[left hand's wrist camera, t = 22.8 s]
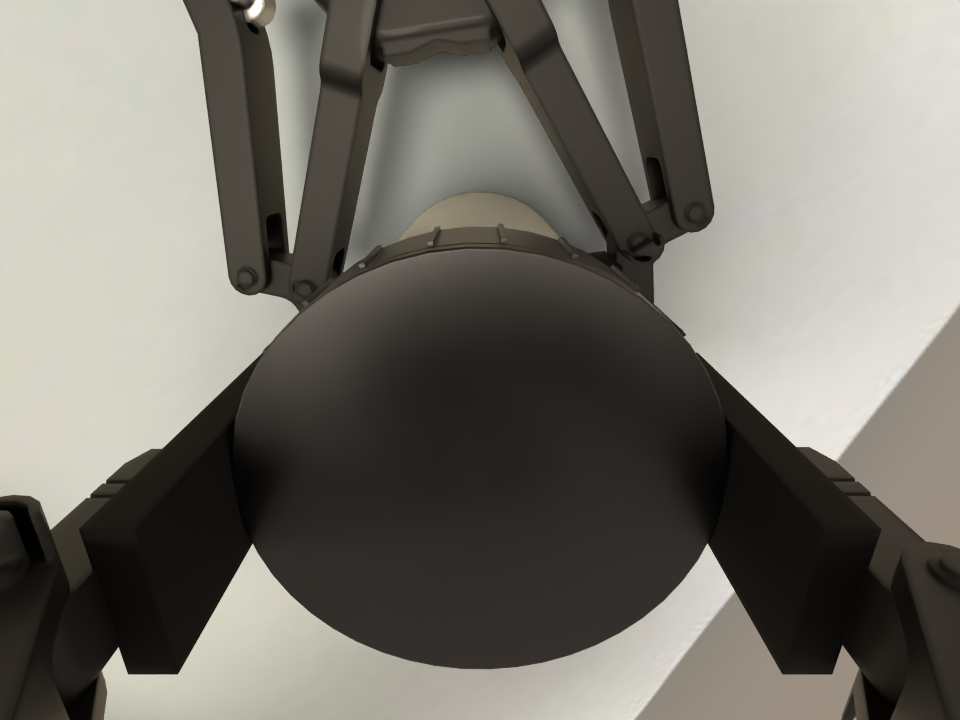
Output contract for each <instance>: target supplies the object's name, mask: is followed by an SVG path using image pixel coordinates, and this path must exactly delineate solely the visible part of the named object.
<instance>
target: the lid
mask: <svg viewBox="0 0 960 720" xmlns="http://www.w3.org/2000/svg"><path fill="white" fill-rule="evenodd" d="M639 290H640V288H639V287H638V286H637V285H636V284H635V283H634V282H633V281H631V280H630V279H629V278H628V277H627V276H626V275H625V274H624V273H622V272H621V271H620V270H619V269H618V268H617V267H616V266H614V265H612V266H611V268H610V267H608V266H607V265H605V264H604V263H602V262H601V261H599V260H597V259H596V258H594V257H593V256H591V255H590V254H588V253H586V252H584V251H582V250H580V249H577V248H575V247H573V246H571V245H570V244H569V243H568V242H567V241H566V240H565V239H564V238H562V237H559V238H558V240H556V239H553V238H550V237H546V236H543V235H540V234H536V233H533V232H529V231H522V230H516V229H509V228H504V225H503V224H500V223H498V227H471V226H469V227H460V228H451V229H443V230H441V228H440V226H438V227H435V228H434V230H433V231H432V232H428V233H425V234H421V235H417V236H413V237H409V238H406V239H404V240H401V241H399V242H396V243H394V244H392V245H389V246H387V247H384V248H382V246H381V245H379V246H377V247H376V248H375V249H374V250H373V251H372V252H371V253H370V254H368V255H367V256H366V257H365V258H364V259H362V260H361V261H359V262H357V263H356V264H354V265H353V266H352V267H350V268H349V269H348V270H347V271H345V272H344V273H343V274H341V275H340V276H339V277H338V278H336V279H335V280H333V279H332V278H330V279H329V280H327V281H326V282H325V283H324V284H323V285H322V286H321V287H320V288H318V289H317V290H316V291H315V292H314V293H313V294H312V295H311V296H309V297H308V298H307V299H306V300H305V301H304V302H303V303H302V305H303V306H304V307H305V308H303V309H302V310H301V311H300V312H299V313H298V314H297V315H296V316H295V317H294V318H293V319H292V320H291V321H290V322H289V324H288V325H287V326H286V327H285V328H284V329H283V330H282V331H281V332H280V333H279V334H278V335H277V336H276V337H275V339H274V340H273V342H271V343H270V344H269V345H268V346H267V347H266V348H265V349H264V351H263V356H262V357H261V359H260V360H259V362H258V363H257V365H256V367H255V369H254V371H253V373H252V375H251V377H250V379H249V382H248V384H247V386H246V388H245V390H244V392H243V396H242V399H241V402H240V406H239V409H238V412H237V416H236V419H235V426H234V434H233V441H232V476H233V481H234V486H235V491H236V497H237V502H238V506H239V510H240V513H241V516H242V519H243V522H244V525H245V528H246V530H247V532H248V534H249V536H250V538H251V540H252V542H253V544H254V546H255V548H256V550H257V552H258V554H259V555H260V557H261V558H262V560H263V561H264V563H265V564H266V566H267V567H268V569H269V570H270V571H271V573H272V574H273V576H274V577H275V578H276V579H277V580H278V581H279V582H280V584H281V585H282V586H283V587H284V588H285V589H286V590H287V591H288V593H289V594H290V595H291V596H292V597H293V598H295V599H296V600H297V601H298V602H299V603H300V604H301V605H302V606H304V607H305V608H306V609H307V610H308V611H309V612H310V613H312V614H313V615H315V616H316V617H317V618H319V619H320V620H322V621H323V622H325V623H326V624H327V625H329V626H330V627H332V628H333V629H335V630H337V631H339V632H340V633H342V634H344V635H346V636H348V637H349V638H351V639H353V640H355V641H357V642H359V643H361V644H364V645H366V646H369V647H371V648H373V649H376V650H378V651H380V652H383V653H386V654H389V655H393V656H396V657H399V658H402V659H406V660H409V661H414V662H419V663H424V664H429V665H434V666H442V667H451V668H460V669H498V668H510V667H520V666H525V665H531V664H537V663H542V662H547V661H550V660H554V659H557V658H561V657H565V656H568V655H571V654H574V653H577V652H579V651H582V650H584V649H587V648H590V647H592V646H595V645H597V644H599V643H601V642H603V641H605V640H607V639H609V638H611V637H613V636H615V635H617V634H619V633H620V632H622V631H623V630H625V629H626V628H628V627H630V626H631V625H633V624H634V623H636V622H637V621H639V620H640V619H642V618H643V617H644V616H646V615H647V614H648V613H649V612H650V611H652V610H653V609H654V608H655V607H657V606H658V605H659V604H660V603H661V602H663V601H664V600H665V599H666V598H667V597H668V596H669V594H670V593H671V592H672V591H673V590H674V589H675V588H676V587H677V586H678V585H679V584H680V583H681V582H682V581H683V579H684V578H685V577H686V575H687V574H688V573H689V571H690V570H691V569H692V567H693V566H694V565H695V563H696V562H697V561H698V559H699V557H700V555H701V554H702V552H703V550H704V548H705V546H706V545H707V543H708V541H709V539H710V537H711V535H712V533H713V530H714V527H715V525H716V522H717V520H718V517H719V514H720V512H721V508H722V503H723V498H724V494H725V489H726V484H727V473H728V459H729V455H728V443H727V432H726V425H725V421H724V417H723V413H722V409H721V405H720V401H719V398H718V396H717V393H716V391H715V389H714V386H713V384H712V382H711V379H710V377H709V375H708V372H707V371H706V369H705V367H704V366H703V364H702V363H701V361H700V359H699V358H698V356H697V355H696V353H695V352H694V350H693V348H692V347H691V345H690V344H689V343H688V342H687V340H686V339H685V338H684V336H686V334H685V333H684V331H683V330H682V329H680V328H679V327H678V326H677V325H676V324H675V323H674V322H673V321H672V320H671V319H670V318H668V317H667V316H666V315H665V314H664V313H663V312H662V311H661V310H660V309H659V308H658V307H656V306H655V305H652V304H651V303H650V302H649V301H648V300H647V299H646V298H644V297H643V296H642V295H641V294H640V293H639V292H638V291H639Z"/></svg>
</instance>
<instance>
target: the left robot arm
mask: <svg viewBox="0 0 960 720" xmlns="http://www.w3.org/2000/svg"><path fill="white" fill-rule="evenodd" d="M696 355H697V356H698V358H699V359H700V361H701V363H702V364H703V366H704V367H705V369H706V371H707V372H708V375H709V377H710V379H711V382H712V384H713V386H714V389H715V391H716V393H717V396H718V398H719V401H720V405H721V409H722V413H723V417H724V421H725V425H726V432H727V443H728V455H729V459H728V473H727V484H726V489H725V494H724V498H723V503H722V508H721V512H720V514H719V517H718V520H717V522H716V525H715V527H714V530H713V533H712V535H711V537H710V539H709V541H708V545H709V546H710V548H711V550H712V552H713V553H714V555H715V557H716V559H717V560H718V562H719V564H720V566H721V567H722V569H723V571H724V573H725V574H726V576H727V578H728V580H729V581H730V583H731V585H732V587H733V588H734V590H735V592H736V594H737V595H738V597H739V599H740V601H741V602H742V604H743V606H744V608H745V609H746V611H747V613H748V615H749V616H750V618H751V620H752V622H753V624H754V625H755V627H756V629H757V630H758V632H759V634H760V636H761V638H762V639H763V641H764V643H765V644H766V646H767V648H768V650H769V652H770V653H771V655H772V657H773V658H774V660H775V662H776V664H777V665H778V667H779V669H780V671H781V673H782V674H832V673H833V670H834V668H835V665H836V662H837V659H838V656H839V653H840V650H841V647H842V645H843V646H844V647H845V649H846V650H847V652H848V653H849V654H850V656H851V657H852V658H853V660H854V661H855V663H856V664H857V665H858V667H859V671H858V673H857V676H856V679H855V682H854V684H853V687H852V690H851V692H850V695H849V698H848V701H847V704H846V706H845V709H844V712H843V714H842V719H841V720H853V718H855V717H856V718H857V720H960V549H959V548H956V547H953V546H950V545H945V544H938V543H932V542H926V541H924V540H923V539H922V538H921V537H920V536H919V535H918V534H917V533H915V532H914V531H913V530H912V529H911V528H910V527H909V526H908V525H906V524H905V523H904V522H903V521H902V520H901V519H900V518H899V517H897V516H896V515H895V514H894V513H893V512H892V511H891V510H890V509H888V508H887V507H886V506H885V505H884V504H883V503H882V502H881V501H880V500H878V499H877V498H876V497H875V496H871V494H870V492H869V491H868V490H867V489H866V488H865V487H864V486H863V485H862V484H860V483H859V482H855V478H854V477H853V476H851V475H850V474H849V473H848V472H847V471H846V470H845V469H844V468H842V467H841V466H840V465H839V464H838V463H837V462H836V461H834V460H832V459H830V458H828V457H826V456H825V455H823V454H821V453H819V452H817V451H815V450H813V449H812V448H810V447H795V446H794V445H793V444H792V443H791V442H790V441H789V440H788V439H787V438H786V437H785V436H784V435H783V434H782V433H781V432H780V431H779V430H778V429H777V428H776V427H775V426H774V425H772V424H771V423H770V422H769V421H768V420H767V419H766V418H765V417H764V416H763V415H762V414H761V413H760V412H759V411H758V410H757V409H756V408H755V407H754V406H753V405H752V404H751V403H749V402H748V401H747V400H746V399H745V398H744V397H743V396H742V395H741V394H740V393H739V392H738V391H737V390H736V389H735V388H734V387H733V386H732V385H731V384H730V383H729V382H728V381H727V380H725V379H724V378H723V377H722V376H721V375H720V374H719V373H718V372H717V371H716V370H715V369H714V368H713V367H712V366H711V365H710V364H709V363H708V362H707V361H706V360H705V359H704V358H702V357H701V356H700V355H699V354H698V353H696ZM262 356H263V353H262V354H261V355H260V356H259V357H258V358H257V359H256V360H255V361H254V362H253V363H252V364H251V365H250V366H248V367H247V368H246V369H245V370H244V371H243V372H242V373H241V374H240V375H239V376H238V377H237V378H236V379H235V380H234V381H233V382H232V383H231V384H230V385H229V386H228V387H227V388H225V389H224V390H223V391H222V392H221V393H220V394H219V395H218V396H217V397H216V398H215V399H214V400H213V401H212V402H211V403H210V404H209V405H208V406H207V407H206V408H205V409H204V410H203V411H201V412H200V413H199V414H198V415H197V416H196V417H195V418H194V419H193V420H192V421H191V422H190V423H189V424H188V425H187V426H186V427H185V428H184V429H183V430H182V431H181V432H180V433H178V434H177V435H176V436H175V437H174V438H173V439H172V440H171V441H170V442H169V443H168V444H167V445H166V446H165V447H164V448H163V449H151V450H149V451H147V452H145V453H143V454H142V455H140V456H138V457H136V458H134V459H132V460H130V461H129V462H127V463H125V464H124V465H123V466H122V467H121V468H119V469H118V470H117V471H116V472H115V473H114V474H113V475H112V476H111V477H109V478H108V479H107V480H106V484H102V485H101V486H99V487H98V488H97V489H96V490H95V491H94V492H93V493H92V494H91V497H90V498H86V499H85V500H84V501H83V502H82V503H80V504H79V505H78V506H77V507H76V508H75V509H74V510H73V511H72V512H70V513H69V514H68V515H67V516H66V517H65V518H64V519H63V520H62V521H60V522H59V523H58V524H57V525H56V526H55V527H54V528H53V529H52V530H50V529H49V526H48V523H47V520H46V518H45V515H44V512H43V509H42V507H41V504H40V502H39V501H37V500H36V499H34V498H32V497H31V496H20V495H10V496H3V497H0V720H104V712H105V705H106V697H107V689H106V683H105V679H104V676H103V673H102V671H101V670H102V669H103V668H104V666H105V665H106V663H107V662H108V661H109V659H110V658H111V656H112V655H113V654H114V652H115V651H116V650H117V648H118V647H119V649H120V652H121V655H122V658H123V661H124V663H125V666H126V669H127V672H128V674H178V673H179V671H180V670H181V668H182V666H183V664H184V663H185V661H186V659H187V657H188V656H189V654H190V652H191V650H192V649H193V647H194V645H195V643H196V642H197V640H198V638H199V636H200V635H201V633H202V631H203V629H204V628H205V626H206V624H207V622H208V621H209V619H210V617H211V615H212V614H213V612H214V610H215V608H216V607H217V605H218V603H219V601H220V600H221V598H222V596H223V594H224V593H225V591H226V589H227V587H228V586H229V584H230V582H231V580H232V579H233V577H234V575H235V573H236V572H237V570H238V568H239V566H240V565H241V563H242V561H243V559H244V558H245V556H246V554H247V552H248V550H249V549H250V547H251V545H252V543H253V542H252V540H251V538H250V536H249V534H248V532H247V530H246V528H245V525H244V522H243V519H242V516H241V513H240V510H239V506H238V502H237V497H236V491H235V486H234V481H233V476H232V441H233V434H234V426H235V419H236V416H237V412H238V409H239V406H240V402H241V399H242V396H243V392H244V390H245V388H246V386H247V384H248V382H249V379H250V377H251V375H252V373H253V371H254V369H255V367H256V365H257V363H258V362H259V360H260V359H261V357H262Z"/></svg>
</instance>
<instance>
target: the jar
mask: <svg viewBox="0 0 960 720" xmlns="http://www.w3.org/2000/svg"><path fill="white" fill-rule="evenodd" d="M498 223H500V224H503V225H504V228H509V229H516V230H522V231H529V232H533V233H536V234H540V235H543V236H546V237H550V238H553V239H556V240H558V238H559V236H558V235H557V234H556V232H555V231H554V230H553V229H552V228H551V227H550V225H549V224H548V223H547V222H546V221H545V220H544V219H543V218H542V217H541V216H540V215H539V214H538V213H537V212H535V211H534V210H533V209H531V208H530V207H528V206H527V205H525V204H523V203H521V202H520V201H518V200H516V199H513V198H510V197H507V196H504V195H500V194H495V193H485V192H475V193H465V194H461V195H456V196H453V197H450V198H447V199H445V200H443V201H441V202H439V203H437V204H435V205H433V206H432V207H430V208H429V209H428V210H426V211H425V212H424V213H422V214H421V215H420V216H419V217H418V218H417V219H416V220H415V221H414V222H413V223H412V225H411V226H410V227H409V228H408V229H407V230H406V231H405V233H404V234H403V235H402V236H401V237H400V238H399V240H398V241H397V242H399V241H401V240H404V239H406V238H409V237H413V236H417V235H421V234H425V233H428V232H432V231H433V230H434V228H435V227H438V226H440V228H441V230H443V229H451V228H460V227H469V226H471V227H498Z"/></svg>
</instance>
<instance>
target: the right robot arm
mask: <svg viewBox="0 0 960 720" xmlns="http://www.w3.org/2000/svg"><path fill="white" fill-rule="evenodd" d="M183 1H184V4H185V6H186V8H187V11H188V13H189V15H190V17H191V20H192V22H193V24H194V27H195V29H196V31H197V33H198V40H199V48H200V55H201V63H202V71H203V79H204V87H205V95H206V102H207V110H208V118H209V126H210V134H211V142H212V149H213V157H214V165H215V173H216V181H217V189H218V196H219V204H220V212H221V220H222V228H223V236H224V244H225V251H226V259H227V267H228V275H229V279H230V282H231V284H232V286H233V287H234V288H235V289H236V290H237V291H239V292H240V293H242V294H245V295H256V294H258V293H264V294H269V295H274V296H279V297H282V298H285V299H287V300H289V301H291V302H292V303H293V304H294V305H295V306H296V307H297V309H298V310H299V312H300V311H301V310H302V309H303V308H305V307H304V306H303V305H302V303H303V302H304V301H305V300H306V299H307V298H308V297H309V296H311V295H312V294H313V293H314V292H315V291H316V290H317V289H318V288H320V287H321V286H322V285H323V284H324V283H325V282H326V281H327V280H329V279H330V278H332V279H333V280H335V279H336V278H338V277H339V276H340V275H341V274H343V273H344V272H343V269H344V264H345V259H346V254H347V249H348V244H349V239H350V234H351V229H352V224H353V220H354V215H355V210H356V205H357V200H358V195H359V190H360V185H361V180H362V175H363V170H364V165H365V160H366V155H367V150H368V146H369V141H370V136H371V131H372V126H373V121H374V116H375V111H376V106H377V102H378V100H379V98H380V96H381V93H382V90H383V86H384V81H385V76H386V71H387V66H388V63H390V64H391V65H393V66H394V67H397V66H403V65H410V64H416V63H419V62H421V61H423V60H425V59H427V58H429V57H431V56H433V55H435V54H437V53H439V52H446V53H453V54H460V55H471V54H477V53H483V52H490V47H492V46H494V45H496V46H497V47H498V49H499V51H500V53H501V55H502V56H503V58H504V60H505V62H506V64H507V66H508V67H509V69H510V71H511V72H512V74H513V75H514V76H515V78H516V79H517V81H518V82H519V84H520V86H521V88H522V89H523V91H524V93H525V95H526V97H527V99H528V100H529V102H530V104H531V106H532V108H533V109H534V111H535V113H536V115H537V117H538V119H539V120H540V122H541V124H542V126H543V128H544V130H545V131H546V133H547V135H548V137H549V139H550V140H551V142H552V144H553V146H554V148H555V150H556V151H557V153H558V155H559V157H560V159H561V161H562V162H563V164H564V166H565V168H566V170H567V171H568V173H569V175H570V177H571V179H572V181H573V182H574V184H575V186H576V188H577V190H578V192H579V193H580V195H581V197H582V199H583V201H584V202H585V204H586V206H587V208H588V210H589V212H590V213H591V215H592V217H593V219H594V221H595V223H596V224H597V226H598V228H599V230H600V232H601V233H602V235H603V237H604V239H605V241H606V242H607V253H606V252H605V251H602V252H595V253H588V254H590V255H591V256H593V257H594V258H596V259H597V260H599V261H601V262H602V263H604V264H605V265H607V266H608V267H610V268H611V266H612V265H614V266H616V267H617V268H618V269H619V270H620V271H621V272H622V273H624V274H625V275H626V276H627V277H628V278H629V279H630V280H631V281H633V282H634V283H635V284H636V285H637V286H638V287H639V288H640V290H639V291H638V292H639V293H640V294H641V295H642V296H643V297H644V298H646V299H647V300H648V301H649V302H650V303H651V304H652V305H654V286H653V263H654V262H655V261H656V260H657V259H659V258H660V256H661V254H662V252H663V251H664V244H666V243H667V242H669V241H671V240H673V239H675V238H677V237H679V236H681V235H683V234H685V233H687V232H691V233H692V232H699V231H701V230H702V229H704V228H706V227H707V226H708V224H709V223H710V222H711V220H712V218H713V216H714V203H713V197H712V191H711V186H710V180H709V174H708V168H707V163H706V157H705V151H704V146H703V140H702V134H701V128H700V123H699V117H698V111H697V106H696V100H695V94H694V88H693V83H692V77H691V71H690V66H689V60H688V54H687V49H686V43H685V37H684V31H683V26H682V20H681V14H680V9H679V3H678V0H608V2H609V8H610V14H611V18H612V23H613V28H614V32H615V37H616V41H617V46H618V51H619V55H620V60H621V65H622V69H623V74H624V78H625V83H626V88H627V92H628V97H629V102H630V106H631V111H632V115H633V120H634V125H635V129H636V134H637V139H638V143H639V148H640V152H641V157H642V162H643V166H644V171H645V175H646V180H647V185H648V189H649V194H650V199H651V200H649V201H648V202H646V203H644V204H642V205H641V203H640V201H639V199H638V197H637V195H636V193H635V191H634V189H633V187H632V185H631V183H630V181H629V180H628V178H627V176H626V174H625V172H624V170H623V168H622V166H621V164H620V162H619V160H618V158H617V156H616V154H615V152H614V150H613V148H612V146H611V144H610V142H609V140H608V138H607V137H606V135H605V133H604V131H603V129H602V127H601V125H600V123H599V121H598V119H597V117H596V115H595V113H594V111H593V109H592V107H591V105H590V103H589V101H588V99H587V97H586V95H585V94H584V92H583V90H582V88H581V86H580V84H579V82H578V80H577V78H576V76H575V74H574V72H573V70H572V68H571V66H570V64H569V62H568V60H567V58H566V56H565V54H564V52H563V50H562V48H561V46H560V44H559V41H558V37H557V33H556V30H555V27H554V25H553V23H552V21H551V19H550V17H549V15H548V13H547V11H546V9H545V7H544V5H543V3H542V1H541V0H315V2H316V3H317V4H318V5H319V6H320V7H321V8H322V9H323V10H324V11H325V12H326V14H327V20H326V26H325V32H324V38H323V44H322V50H321V56H320V65H319V71H320V77H321V88H320V95H319V101H318V107H317V113H316V119H315V125H314V131H313V137H312V143H311V149H310V155H309V161H308V167H307V173H306V179H305V185H304V191H303V197H302V203H301V209H300V215H299V221H298V227H297V233H296V239H295V245H294V251H293V254H292V253H289V245H288V234H287V222H286V210H285V198H284V186H283V174H282V162H281V150H280V138H279V126H278V114H277V102H276V90H275V78H274V67H273V60H272V52H271V48H270V44H269V39H268V35H267V32H266V29H265V26H266V25H267V24H269V23H270V22H271V21H272V20H273V18H274V15H275V12H276V3H275V0H183Z"/></svg>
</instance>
